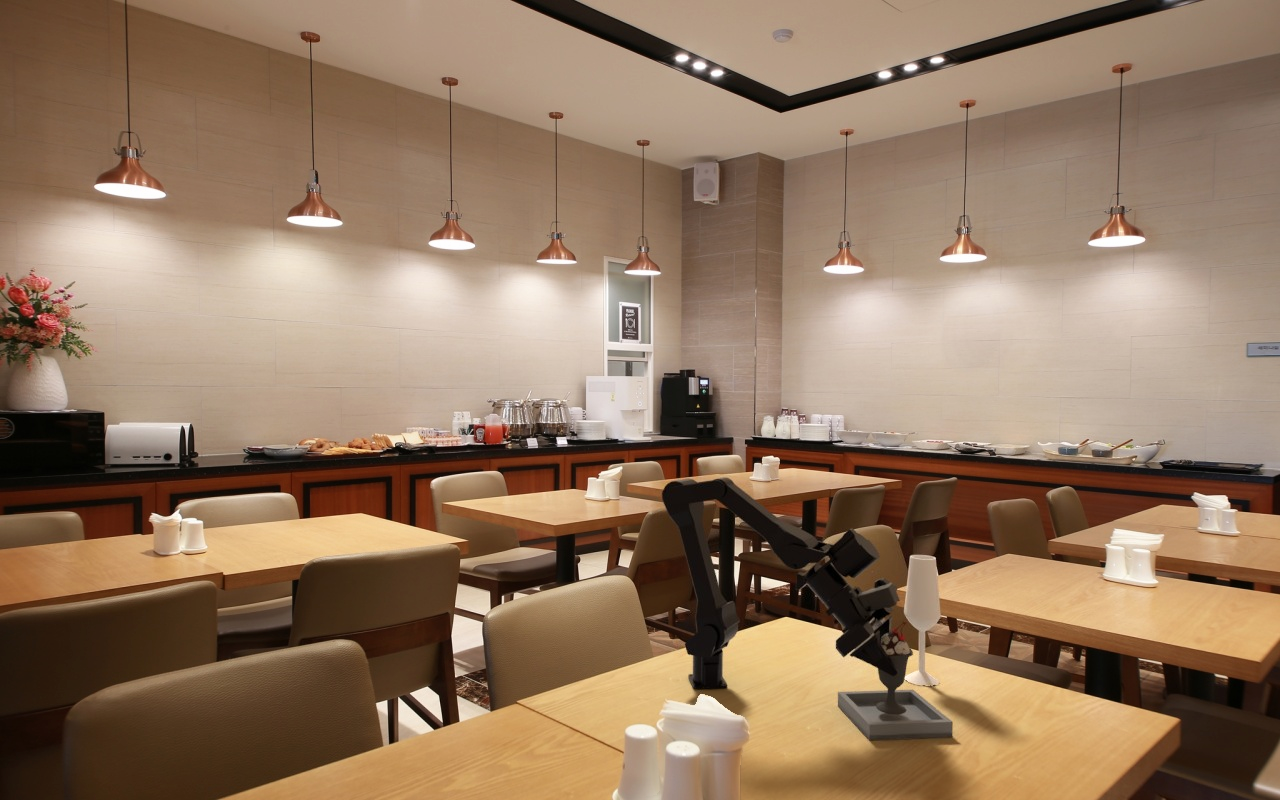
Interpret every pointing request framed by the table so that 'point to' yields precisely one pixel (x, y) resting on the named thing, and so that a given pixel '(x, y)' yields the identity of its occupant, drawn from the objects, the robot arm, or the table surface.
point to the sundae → (899, 657)
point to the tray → (894, 716)
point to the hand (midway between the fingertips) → (900, 668)
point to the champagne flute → (922, 608)
